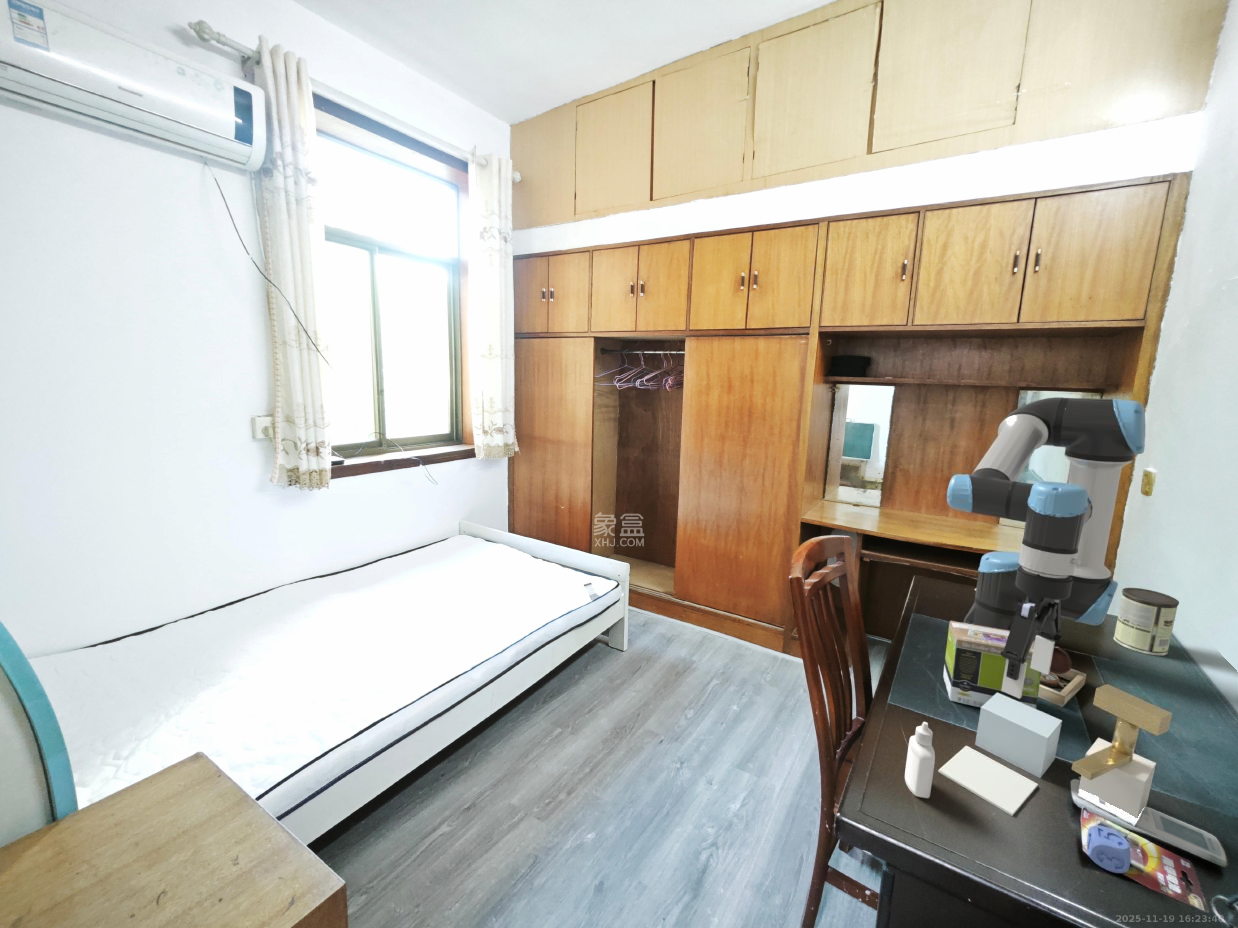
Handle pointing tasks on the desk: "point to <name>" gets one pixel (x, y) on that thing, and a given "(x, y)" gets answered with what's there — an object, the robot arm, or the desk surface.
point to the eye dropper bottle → (920, 762)
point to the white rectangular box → (1122, 782)
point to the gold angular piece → (1122, 730)
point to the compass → (1057, 668)
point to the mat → (989, 779)
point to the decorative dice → (1108, 849)
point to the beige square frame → (1068, 691)
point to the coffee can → (1145, 621)
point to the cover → (1018, 734)
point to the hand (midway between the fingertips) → (1025, 681)
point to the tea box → (982, 666)
